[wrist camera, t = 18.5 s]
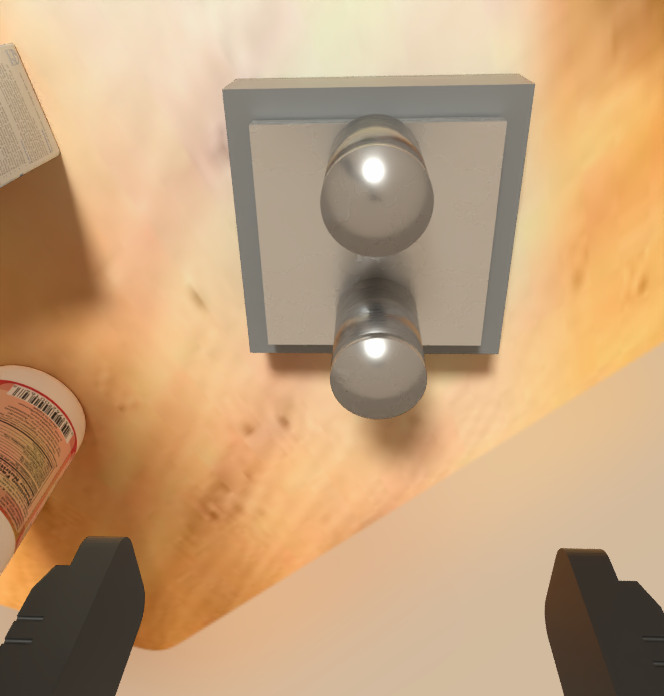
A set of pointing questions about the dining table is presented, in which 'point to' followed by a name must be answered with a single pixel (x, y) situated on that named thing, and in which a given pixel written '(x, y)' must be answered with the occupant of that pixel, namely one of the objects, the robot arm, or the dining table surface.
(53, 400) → the fruit juice
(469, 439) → the dining table surface
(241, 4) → the dining table surface
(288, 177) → the platform
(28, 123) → the light bulb box
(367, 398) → the cylinder
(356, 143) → the cylinder
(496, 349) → the scale
